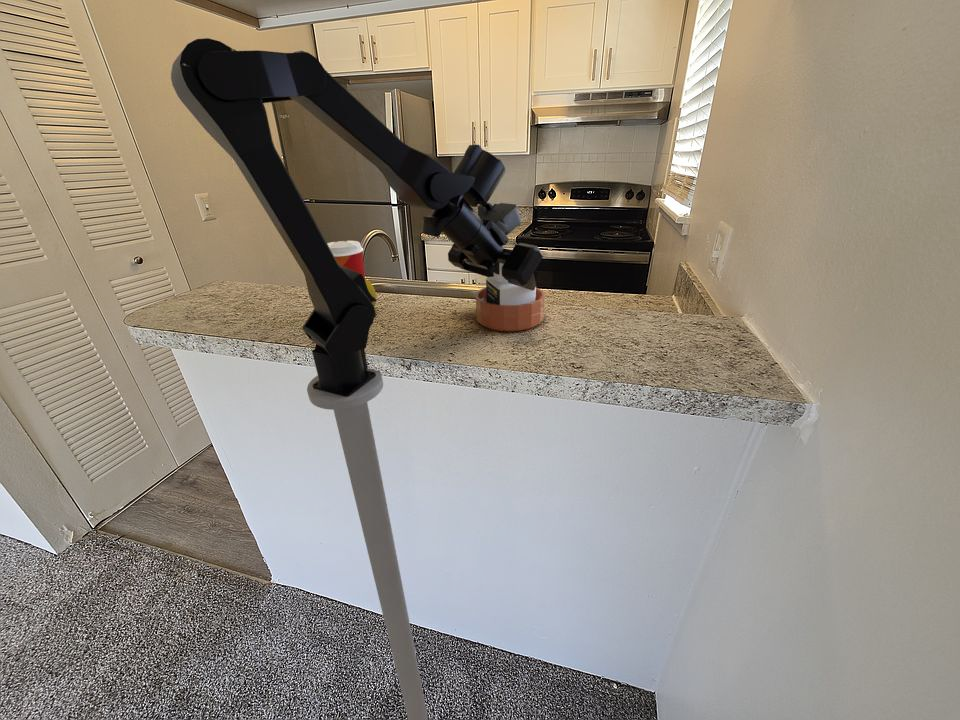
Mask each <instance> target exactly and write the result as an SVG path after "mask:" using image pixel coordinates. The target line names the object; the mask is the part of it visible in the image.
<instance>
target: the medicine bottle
mask: <svg viewBox="0 0 960 720" xmlns="http://www.w3.org/2000/svg"><path fill="white" fill-rule="evenodd" d="M503 265H504V264H503V263H499V262H495V263H494V277H486V278H485V285H486V286H485V288H486V302H488V303H491V304H498V305H522V304H528V303H531V302H534V301H535V296H536V288H537V287H536V288H535V289H534V290H533V291H532V290H529V289H526V288H523V287H520V286H517V285H514V284H511V283H508V281H507V280H506V279H505V278H504V277H503V276H502V266H503Z"/></svg>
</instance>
